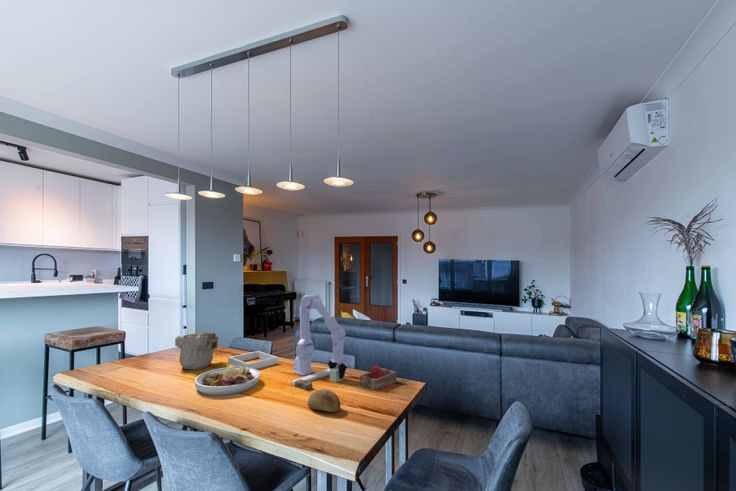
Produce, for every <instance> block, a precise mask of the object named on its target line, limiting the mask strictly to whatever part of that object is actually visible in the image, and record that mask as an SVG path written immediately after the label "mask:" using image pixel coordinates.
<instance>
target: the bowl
mask: <svg viewBox="0 0 736 491" xmlns="http://www.w3.org/2000/svg"><path fill="white" fill-rule="evenodd" d="M259 380H261V371H259V369H253V368H248V367H235V366H230V367H222V368H217V369H211V370H209V371H208V370H207V371H206V372H204V373H203V372H202V373H201V374H199V375H198V376H196V378H195V379H194V386H195V388H196V390H198V392H200V393H202V394H204V395H205V394H206V395H208V396H229V395H234V394H239V393H243V392H246V391H247V390H250V389H252V388H253V387H255V386H256V385H257V384H258V382H259Z"/></svg>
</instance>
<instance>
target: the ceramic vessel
mask: <svg viewBox="0 0 736 491" xmlns="http://www.w3.org/2000/svg"><path fill="white" fill-rule="evenodd" d="M174 342H175V343H174V346H176V347H178V348H180V349H179V350H180V352H179V364H180V366H181V367H182V369H185V370H202V369H205V368H206V367H208V366H209V365H210V364H211V363H212V362H213V359H214V355H213V354H214V351H215V350H216V349H218V343H219V336H218V335H217V334H216V333H215V331H213V332H207V331H205V332H200V333H199V332H198V333H190V334H185V335H183V336H182V335H181V336H180V335H178V336H176V337H175V340H174Z"/></svg>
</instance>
